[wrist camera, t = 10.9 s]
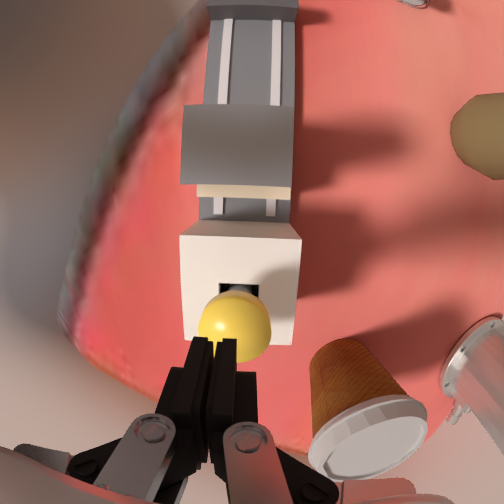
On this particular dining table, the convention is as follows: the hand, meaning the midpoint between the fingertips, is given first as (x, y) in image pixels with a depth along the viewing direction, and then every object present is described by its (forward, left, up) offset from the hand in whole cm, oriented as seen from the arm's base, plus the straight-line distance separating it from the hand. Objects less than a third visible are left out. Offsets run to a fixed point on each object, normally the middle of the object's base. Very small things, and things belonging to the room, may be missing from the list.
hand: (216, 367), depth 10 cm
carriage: (+8, -1, -12) cm, 15 cm away
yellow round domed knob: (0, -1, -10) cm, 10 cm away
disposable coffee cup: (-10, -11, -14) cm, 20 cm away
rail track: (+10, -1, -14) cm, 17 cm away
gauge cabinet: (0, -1, -13) cm, 13 cm away
